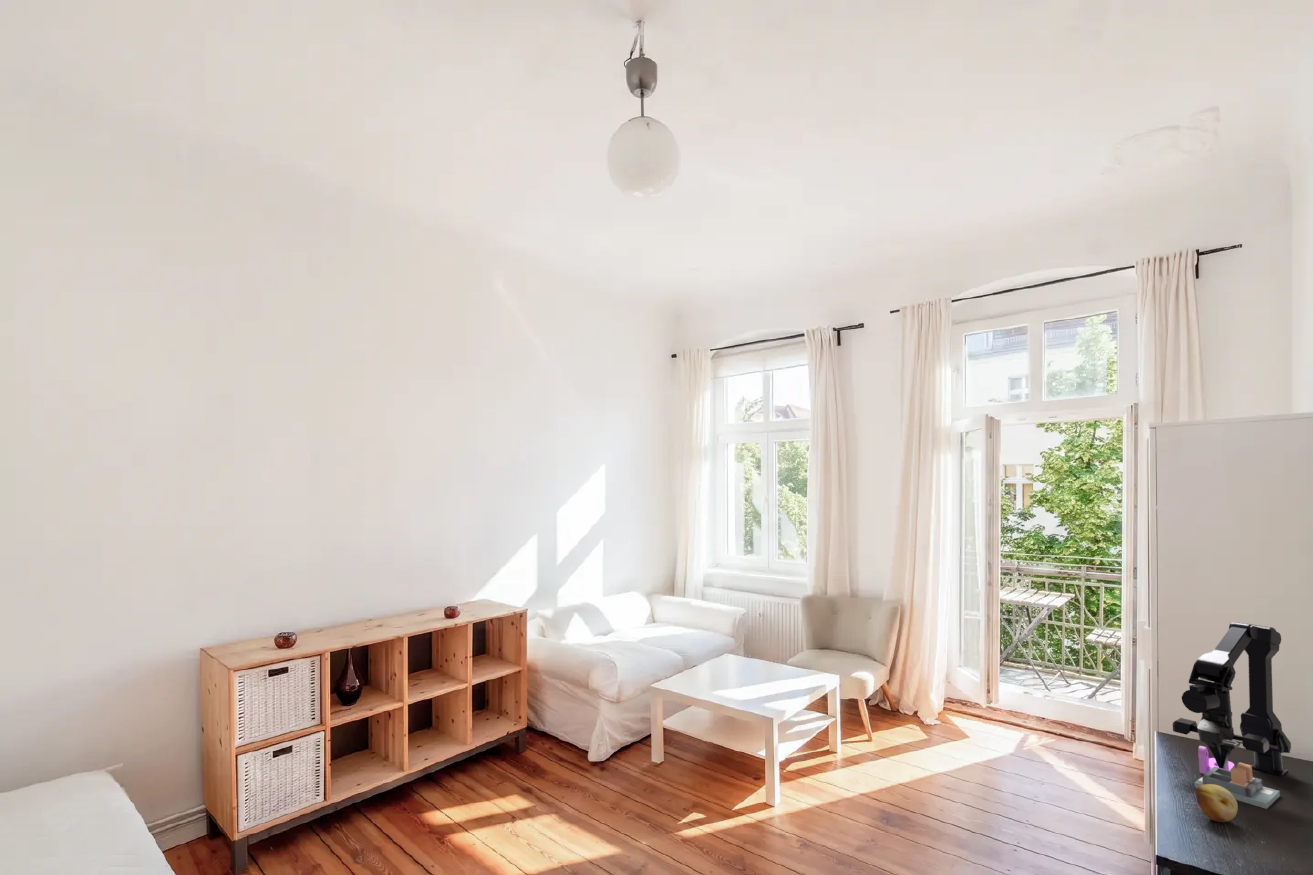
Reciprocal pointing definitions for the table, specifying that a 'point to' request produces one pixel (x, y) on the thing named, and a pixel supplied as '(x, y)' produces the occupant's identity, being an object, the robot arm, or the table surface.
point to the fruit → (1216, 802)
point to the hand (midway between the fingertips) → (1221, 767)
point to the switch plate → (1240, 788)
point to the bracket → (1209, 761)
